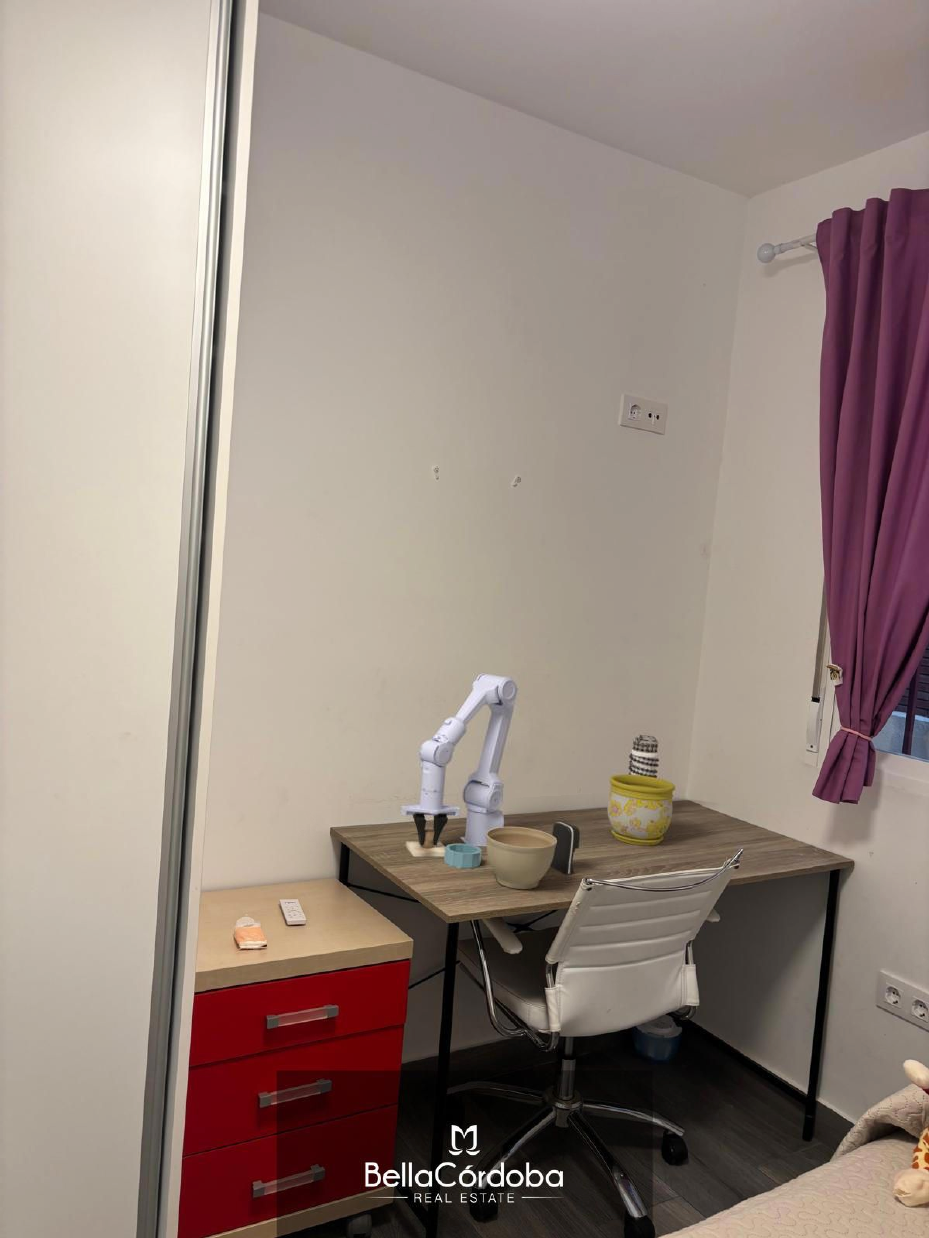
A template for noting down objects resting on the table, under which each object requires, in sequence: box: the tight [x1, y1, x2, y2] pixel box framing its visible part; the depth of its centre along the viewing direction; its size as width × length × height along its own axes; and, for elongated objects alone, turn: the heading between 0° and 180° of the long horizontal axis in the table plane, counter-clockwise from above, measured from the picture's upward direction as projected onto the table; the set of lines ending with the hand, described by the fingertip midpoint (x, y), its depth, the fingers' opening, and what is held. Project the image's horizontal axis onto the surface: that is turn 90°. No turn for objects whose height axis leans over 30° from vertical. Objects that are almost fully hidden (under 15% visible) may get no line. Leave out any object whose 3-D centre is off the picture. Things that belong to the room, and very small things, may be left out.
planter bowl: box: [486, 826, 557, 890], centre depth 214 cm, size 16×16×11 cm
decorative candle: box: [627, 734, 660, 778], centre depth 289 cm, size 9×9×25 cm
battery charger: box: [549, 821, 581, 875], centre depth 227 cm, size 7×4×11 cm, turn 32°
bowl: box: [443, 843, 483, 870], centre depth 224 cm, size 8×8×4 cm
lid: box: [405, 828, 446, 858], centre depth 231 cm, size 9×9×5 cm
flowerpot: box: [607, 774, 676, 847], centre depth 262 cm, size 18×18×16 cm
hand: (427, 844), depth 231 cm, fingers closed on lid, 3 cm apart
